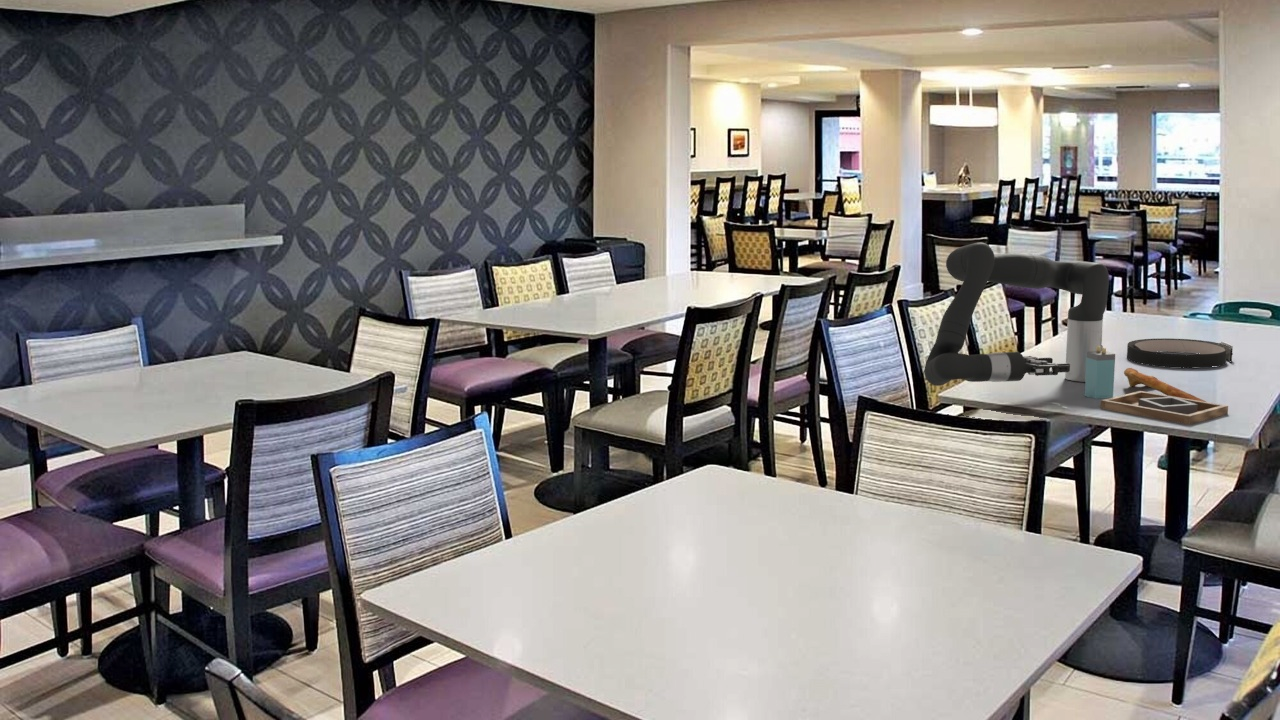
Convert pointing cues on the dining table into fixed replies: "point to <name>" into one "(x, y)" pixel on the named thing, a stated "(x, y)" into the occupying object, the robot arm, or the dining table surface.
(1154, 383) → the bone
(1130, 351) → the belt
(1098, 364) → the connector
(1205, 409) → the walled box
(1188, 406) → the socket
